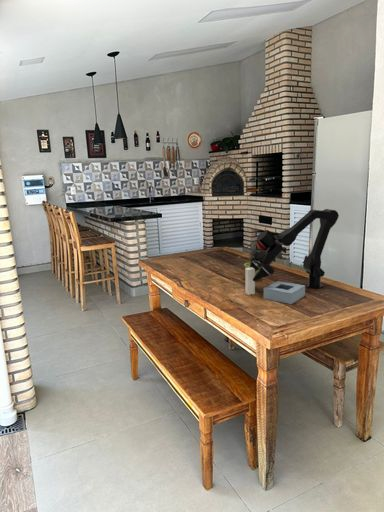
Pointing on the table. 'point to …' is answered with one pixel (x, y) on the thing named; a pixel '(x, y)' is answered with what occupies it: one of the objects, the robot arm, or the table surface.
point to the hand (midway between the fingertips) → (249, 278)
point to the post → (249, 281)
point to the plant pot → (248, 267)
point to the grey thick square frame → (284, 292)
